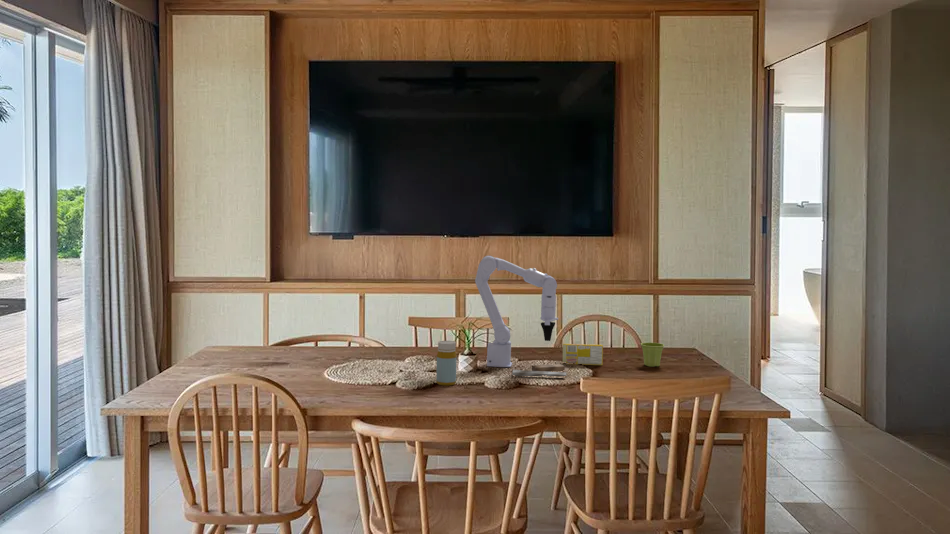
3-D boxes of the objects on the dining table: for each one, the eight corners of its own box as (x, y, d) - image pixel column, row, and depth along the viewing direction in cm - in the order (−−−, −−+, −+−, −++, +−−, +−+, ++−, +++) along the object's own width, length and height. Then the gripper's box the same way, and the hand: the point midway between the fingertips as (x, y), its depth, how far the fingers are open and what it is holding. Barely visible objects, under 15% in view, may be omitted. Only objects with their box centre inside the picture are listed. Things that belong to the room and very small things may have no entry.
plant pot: (638, 366, 321) (638, 345, 320) (642, 362, 330) (643, 341, 329) (661, 368, 317) (662, 347, 317) (665, 364, 326) (666, 343, 325)
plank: (535, 375, 302) (535, 367, 302) (531, 373, 306) (531, 365, 305) (564, 373, 306) (564, 366, 305) (560, 371, 309) (560, 363, 309)
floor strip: (512, 376, 297) (512, 372, 297) (513, 373, 303) (513, 369, 303) (565, 379, 295) (565, 374, 295) (566, 376, 300) (566, 371, 300)
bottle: (448, 387, 279) (449, 344, 277) (432, 384, 282) (433, 342, 281) (459, 383, 284) (460, 341, 283) (443, 380, 288) (444, 339, 287)
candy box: (602, 364, 324) (602, 344, 323) (602, 365, 322) (603, 345, 321) (562, 363, 325) (562, 343, 325) (562, 364, 323) (562, 344, 322)
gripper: (558, 309, 308) (557, 344, 309) (559, 304, 322) (558, 338, 323) (539, 308, 309) (538, 343, 310) (541, 304, 323) (540, 337, 324)
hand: (547, 340), depth 316 cm, fingers closed
